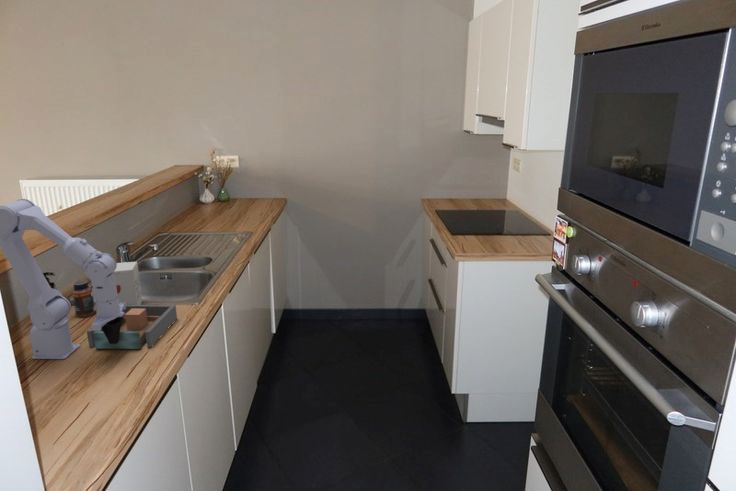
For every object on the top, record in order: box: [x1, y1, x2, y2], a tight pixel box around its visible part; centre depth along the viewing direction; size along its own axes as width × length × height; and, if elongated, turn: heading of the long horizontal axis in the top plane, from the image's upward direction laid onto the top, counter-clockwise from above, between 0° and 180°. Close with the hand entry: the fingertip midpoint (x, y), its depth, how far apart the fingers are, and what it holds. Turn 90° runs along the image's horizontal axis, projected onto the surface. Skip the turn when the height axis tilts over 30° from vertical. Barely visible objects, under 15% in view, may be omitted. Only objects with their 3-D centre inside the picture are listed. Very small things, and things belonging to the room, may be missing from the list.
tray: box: [93, 316, 160, 350], centre depth 158 cm, size 13×17×5 cm
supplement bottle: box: [71, 280, 97, 318], centre depth 173 cm, size 6×6×11 cm
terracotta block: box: [125, 308, 148, 330], centre depth 161 cm, size 4×4×5 cm
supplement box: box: [111, 261, 143, 305], centre depth 177 cm, size 9×9×15 cm
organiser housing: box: [86, 304, 178, 348], centre depth 160 cm, size 18×19×5 cm
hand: (114, 342), depth 148 cm, fingers closed
